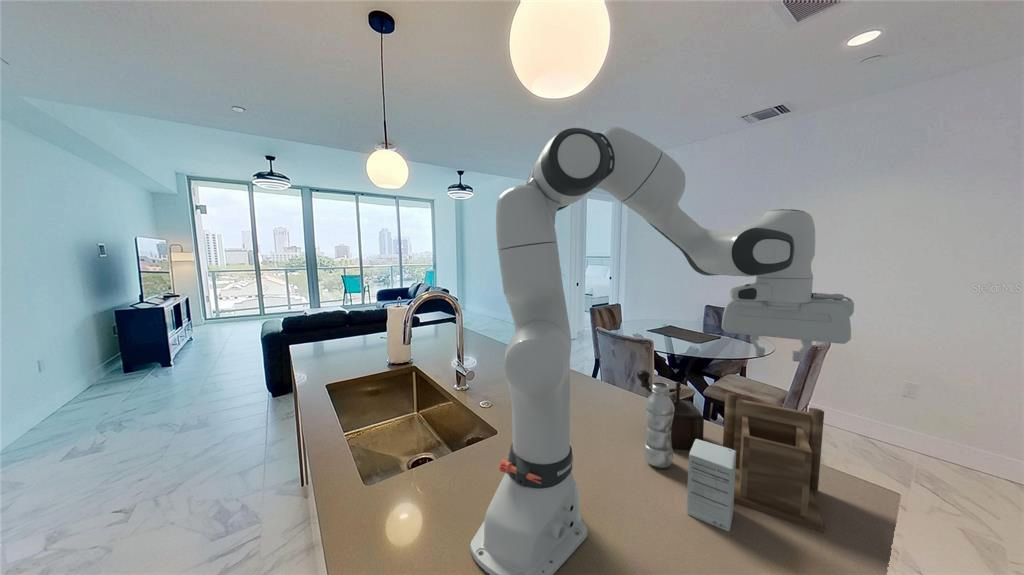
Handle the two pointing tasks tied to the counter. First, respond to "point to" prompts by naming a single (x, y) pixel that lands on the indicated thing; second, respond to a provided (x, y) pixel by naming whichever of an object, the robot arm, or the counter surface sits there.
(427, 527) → the counter surface
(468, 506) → the counter surface
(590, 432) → the counter surface
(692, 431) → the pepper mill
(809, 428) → the caddy
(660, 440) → the plastic bottle
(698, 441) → the supplement box
